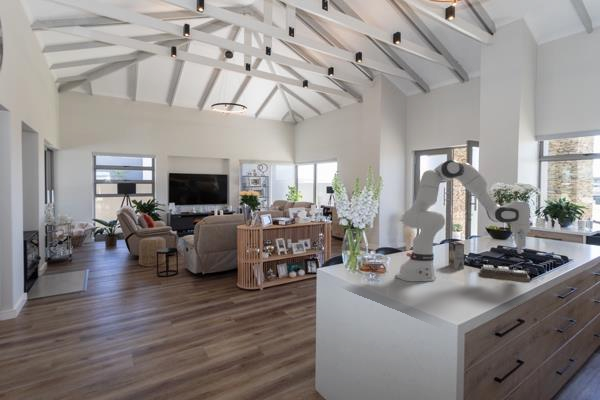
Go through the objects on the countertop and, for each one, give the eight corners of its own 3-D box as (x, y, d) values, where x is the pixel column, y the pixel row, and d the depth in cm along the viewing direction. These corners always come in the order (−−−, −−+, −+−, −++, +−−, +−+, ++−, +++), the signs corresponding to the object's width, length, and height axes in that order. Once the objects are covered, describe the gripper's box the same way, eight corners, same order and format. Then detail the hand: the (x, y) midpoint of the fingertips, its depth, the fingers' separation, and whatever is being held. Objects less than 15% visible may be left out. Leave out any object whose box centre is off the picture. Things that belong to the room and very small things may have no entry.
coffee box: (448, 265, 206) (448, 241, 206) (457, 265, 206) (457, 241, 206) (454, 268, 197) (454, 244, 197) (464, 268, 197) (464, 244, 197)
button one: (508, 272, 174) (508, 268, 174) (498, 271, 177) (498, 267, 177) (508, 270, 179) (508, 266, 179) (498, 269, 181) (498, 265, 181)
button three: (493, 270, 178) (493, 267, 178) (483, 269, 181) (483, 266, 181) (493, 268, 182) (493, 265, 182) (483, 267, 185) (483, 264, 185)
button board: (530, 282, 167) (530, 274, 167) (479, 276, 180) (479, 269, 180) (527, 277, 176) (527, 270, 176) (479, 272, 188) (479, 265, 188)
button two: (525, 276, 171) (525, 272, 170) (514, 274, 173) (514, 271, 173) (523, 273, 175) (524, 270, 175) (513, 272, 177) (513, 269, 177)
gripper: (529, 231, 162) (528, 256, 163) (525, 227, 180) (524, 251, 180) (514, 230, 166) (514, 255, 166) (512, 227, 183) (511, 249, 183)
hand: (519, 253), depth 173 cm, fingers closed
